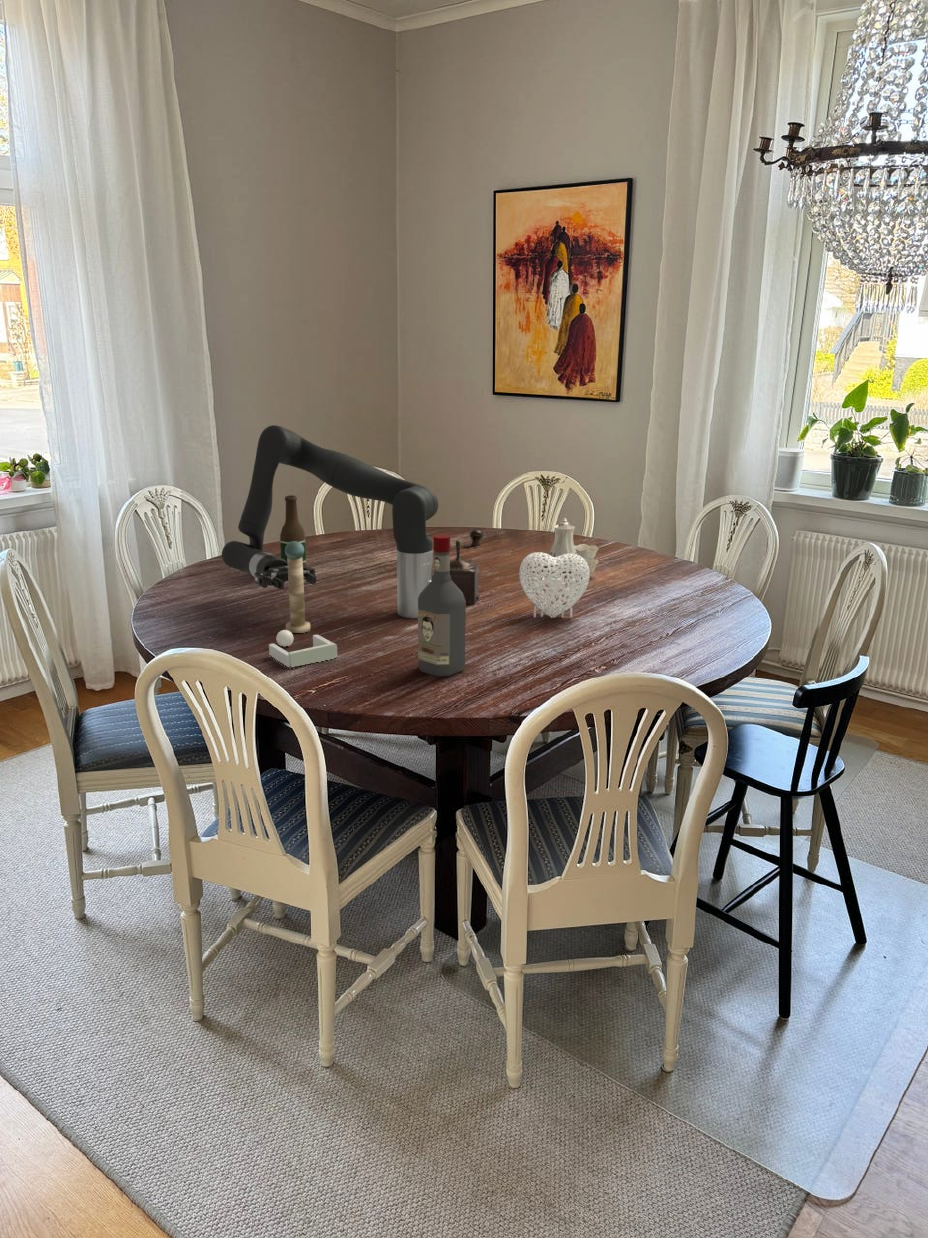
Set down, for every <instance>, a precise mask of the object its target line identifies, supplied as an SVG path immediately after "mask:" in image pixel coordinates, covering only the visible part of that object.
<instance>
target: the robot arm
mask: <svg viewBox="0 0 928 1238" xmlns="http://www.w3.org/2000/svg"><path fill="white" fill-rule="evenodd" d="M279 464H280V465H281V464H282V465H287V466H290V467H293V468H297V469H301V470H302V471H306V472H308V473H310V474H312V475H314V476H315V477H316V478H317V479H319V481H322V482H323V483H325V484H327V485H328V486H330V487H332V488H333V489H335V490H338V491H340V492H343V493H345V494H348V495H350V496H353V497H356V498H361V499H366V500H373V501H374V500H375V501H380V502H384V503H387V504H389V505H392V508H391V511H392V512H391V513H392V514H391V515H392V517H391V518H392V532H393V538H394V541H395V543H396V580H397V581H396V584H397V587H396V588H397V589H396V592H397V595H396V597H397V614H398V616H400V617H403V618H406V619H407V618H408V619H418V597H419V594H420V593H421V592H422V591H423V590H424V588H425V587H426V586H427V585H428V584H429V583H430V582H431V581H432V580H433V575H434V551H433V539H432V538H431V537H430V536H428V535H427V523H426V521H428V520H430V519H431V518H433V517H434V516H435V515H436V514H437V512H438V510H439V500H438V498H437V496H436V494H435V492H434V491H432V490H431V489H430V488H429V487H427V486H424V485H421V484H418V483H416V482H412V481H408V480H405V479H402V478H399V477H396V476H393V475H392V474H389V473H387V472H386V471H383V470H381V469H379V468H376V467H375V466H372V465H370V464H368V463H366V462H364V461H362V460H360V459H357V458H355V457H352V456H351V455H348V454H345V453H342V452H339V451H336V450H333V449H329V448H325V447H321V446H319V445H316V444H314V443H313V442H311V441H309V440H307V439H306V438H304V437H303V436H300V435H299V434H298V433H296V432H295V431H292V430H291V429H289V428H286V427H283V426H281V425H277V424H275V425H269V426H267V427H266V428H264V430H262V432H261V433H260V435H259V438H258V442H257V447H256V453H255V460H254V465H253V471H252V477H251V482H250V486H249V489H248V490H249V491H248V495H247V498H246V501H245V504H244V508H243V511H242V513H241V516H240V520H239V522H238V526H237V528H238V531H239V532H241V533H242V534H243V535H246V536H247V537H248V539H249V544H248V543H244V542H242V541H236V540H232V541H229V542H227V543H226V544H225V545H224V546H223V548H222V551H221V558H222V561H223V563H224V565H226V566H228V567H229V568H233V569H236V570H239V571H242V572H244V573H247V574H249V575H250V576H252V577H254V583H255V584H256V585H258V586H259V587H261V588H263V589H267V588H268V586H269V587H270V588H276V589H279V590H281V591H283V590H284V589H285V585H284V584H286V583H288V584H289V581H288V563H287V562H286V561H285V560H284V559H282V558H281V556H277V555H274V554H273V553H270V552H265V551H264V540H265V532H266V529H267V525H268V522H269V520H270V517H271V514H272V508H273V486H274V480H275V479H274V478H275V474H276V472H277V469H278V467H279ZM303 581H304V582H306V583H309V584H311V585H315V584H316V582H317V575H316V569H315V568H312V567H309V566H307V565H306V566H304V565H303Z"/></svg>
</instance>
